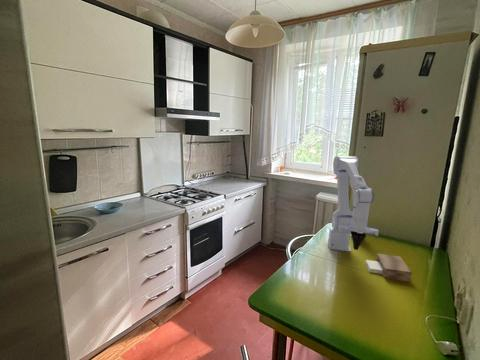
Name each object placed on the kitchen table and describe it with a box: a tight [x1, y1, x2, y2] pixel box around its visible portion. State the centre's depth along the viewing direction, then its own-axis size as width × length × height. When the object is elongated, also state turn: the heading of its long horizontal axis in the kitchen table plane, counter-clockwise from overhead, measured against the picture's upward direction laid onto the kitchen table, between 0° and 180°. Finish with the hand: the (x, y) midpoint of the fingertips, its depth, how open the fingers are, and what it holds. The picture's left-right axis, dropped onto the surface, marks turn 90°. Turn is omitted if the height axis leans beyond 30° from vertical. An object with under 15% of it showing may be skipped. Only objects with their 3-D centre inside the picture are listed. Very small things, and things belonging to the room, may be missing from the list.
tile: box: [365, 259, 383, 275], centre depth 103 cm, size 12×7×2 cm, turn 76°
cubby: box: [375, 253, 413, 283], centre depth 102 cm, size 9×12×4 cm
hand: (355, 248), depth 104 cm, fingers closed
